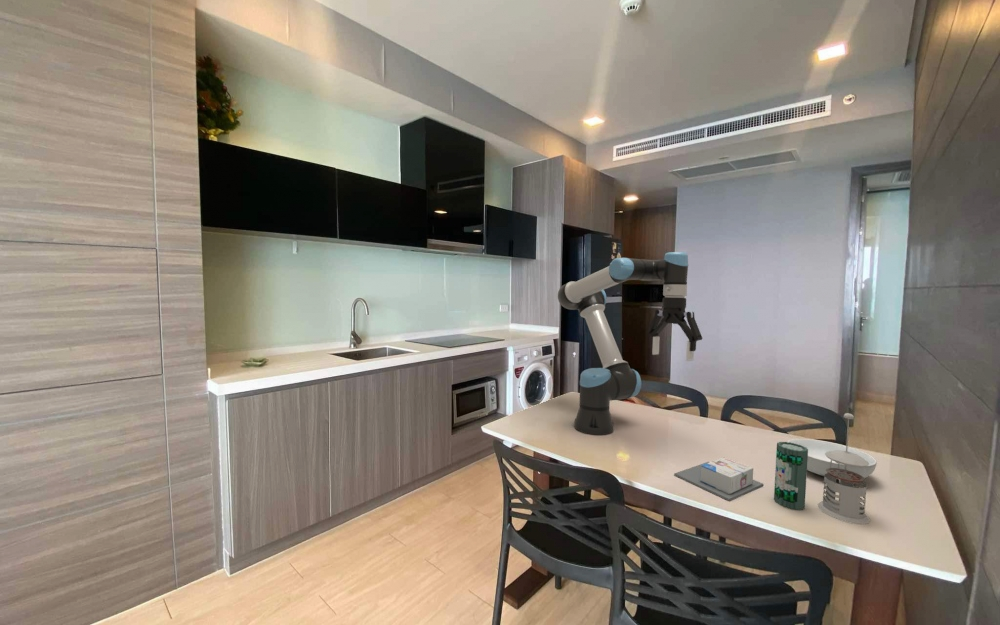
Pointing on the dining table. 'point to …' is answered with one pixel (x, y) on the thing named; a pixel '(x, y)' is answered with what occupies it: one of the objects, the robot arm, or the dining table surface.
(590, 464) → the dining table surface
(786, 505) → the can
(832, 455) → the french press
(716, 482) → the ink box
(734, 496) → the rubber mat
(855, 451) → the serving bowl
